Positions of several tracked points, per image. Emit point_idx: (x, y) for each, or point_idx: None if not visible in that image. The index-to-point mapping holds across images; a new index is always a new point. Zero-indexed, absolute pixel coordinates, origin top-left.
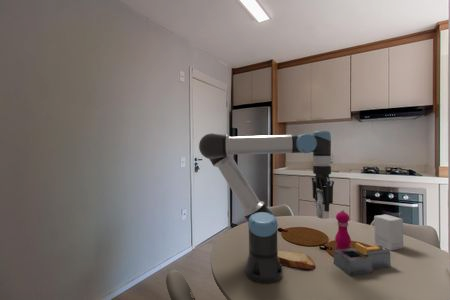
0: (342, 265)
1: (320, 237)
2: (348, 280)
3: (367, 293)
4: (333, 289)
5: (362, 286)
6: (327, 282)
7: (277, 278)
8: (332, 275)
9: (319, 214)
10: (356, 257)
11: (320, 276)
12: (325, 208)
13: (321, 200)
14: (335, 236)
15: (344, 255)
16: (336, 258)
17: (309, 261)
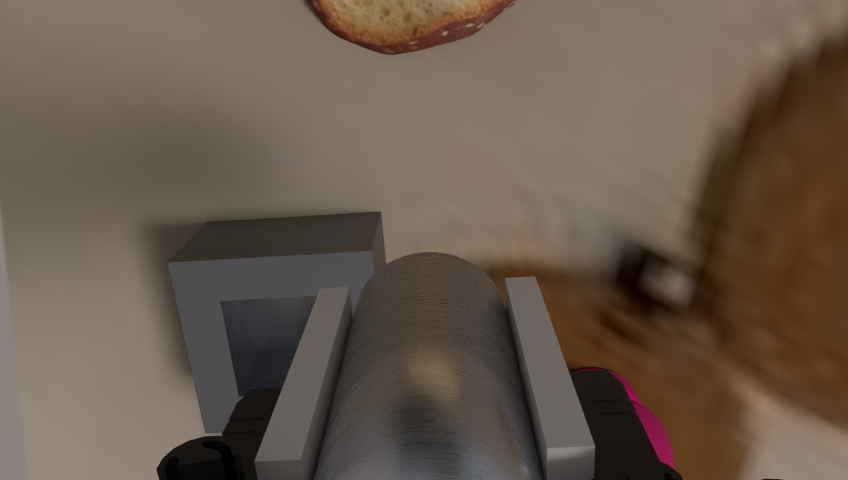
0: (274, 229)
1: (842, 363)
2: (155, 178)
3: (18, 202)
4: (44, 9)
5: (89, 221)
6: (127, 14)
7: None
8: (218, 105)
9: (393, 286)
10: (224, 344)
11: (206, 4)
12: (250, 425)
13: None
14: (650, 427)
15: (260, 277)
16: (340, 232)
17: (385, 7)
